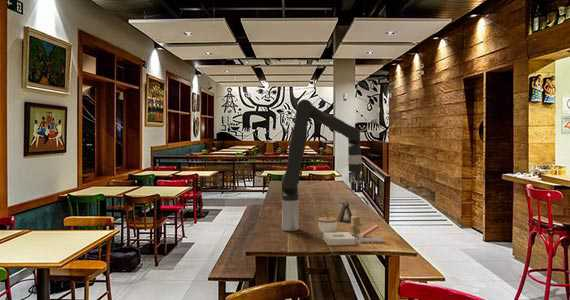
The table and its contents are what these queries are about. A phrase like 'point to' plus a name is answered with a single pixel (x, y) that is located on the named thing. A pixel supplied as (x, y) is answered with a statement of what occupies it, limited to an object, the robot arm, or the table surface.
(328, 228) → the lidded jar
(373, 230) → the latch lever
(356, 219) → the peg
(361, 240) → the lever bracket
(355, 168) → the robot arm
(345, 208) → the phone stand
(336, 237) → the socket block
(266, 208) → the table surface
